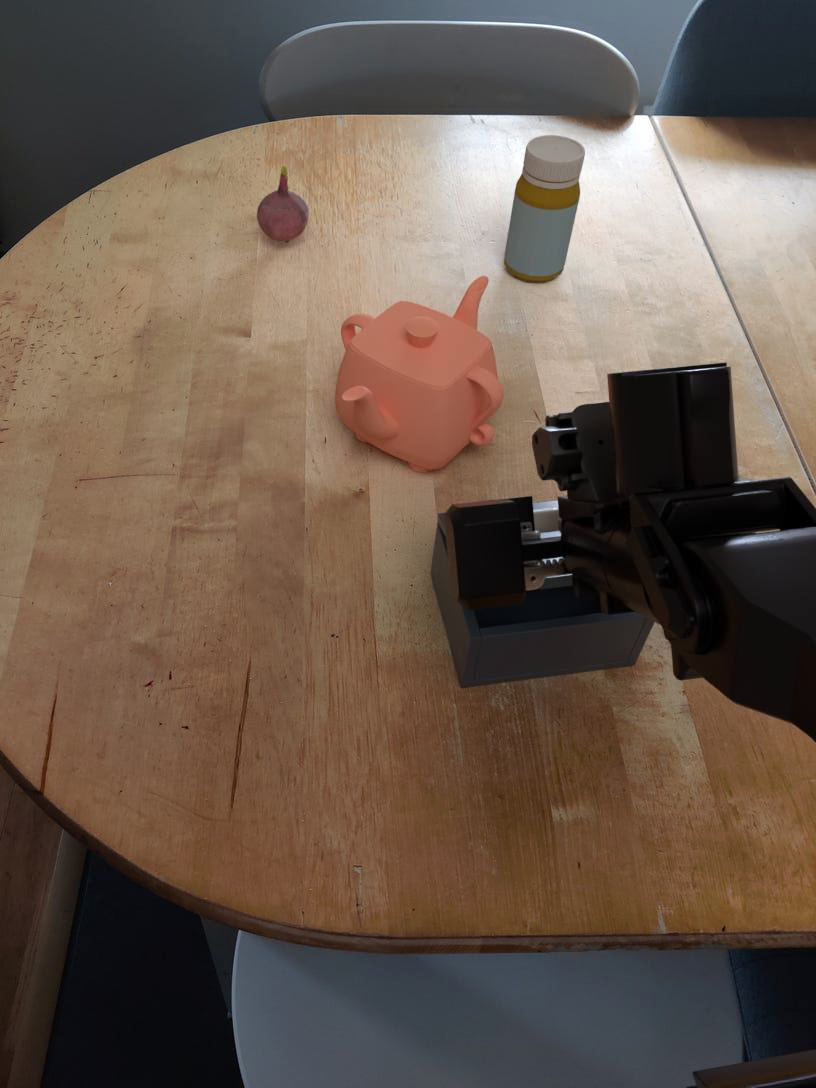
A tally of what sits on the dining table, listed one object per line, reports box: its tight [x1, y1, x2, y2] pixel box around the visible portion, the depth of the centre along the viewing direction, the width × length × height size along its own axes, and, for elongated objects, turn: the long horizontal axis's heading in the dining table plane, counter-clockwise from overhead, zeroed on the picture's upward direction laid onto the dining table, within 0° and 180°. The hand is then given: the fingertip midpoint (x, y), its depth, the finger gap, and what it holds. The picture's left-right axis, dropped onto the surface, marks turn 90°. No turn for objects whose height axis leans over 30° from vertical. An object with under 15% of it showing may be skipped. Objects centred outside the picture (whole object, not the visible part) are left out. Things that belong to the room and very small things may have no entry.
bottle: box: [503, 134, 586, 284], centre depth 99 cm, size 7×7×15 cm
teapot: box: [334, 275, 505, 473], centre depth 81 cm, size 15×17×13 cm
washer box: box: [430, 521, 656, 689], centre depth 68 cm, size 11×14×7 cm
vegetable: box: [256, 165, 310, 244], centre depth 104 cm, size 6×6×10 cm
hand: (552, 522), depth 62 cm, fingers closed on lid, 6 cm apart
